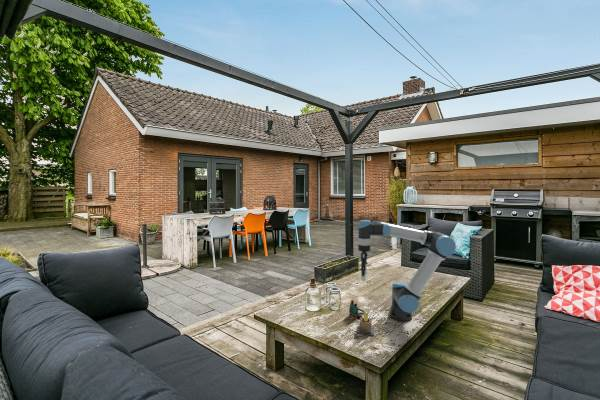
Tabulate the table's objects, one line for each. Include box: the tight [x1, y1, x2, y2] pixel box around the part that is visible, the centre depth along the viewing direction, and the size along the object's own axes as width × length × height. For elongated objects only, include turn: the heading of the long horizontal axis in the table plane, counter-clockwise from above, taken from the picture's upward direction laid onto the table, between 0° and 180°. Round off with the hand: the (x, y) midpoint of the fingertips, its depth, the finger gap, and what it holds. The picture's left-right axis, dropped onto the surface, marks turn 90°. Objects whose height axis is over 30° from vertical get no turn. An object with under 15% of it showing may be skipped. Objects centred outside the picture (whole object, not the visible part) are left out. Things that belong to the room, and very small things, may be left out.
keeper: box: [356, 311, 375, 337], centre depth 187 cm, size 10×9×12 cm
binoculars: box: [348, 299, 365, 320], centre depth 208 cm, size 9×11×10 cm
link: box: [358, 316, 373, 333], centre depth 188 cm, size 7×7×6 cm
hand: (363, 277), depth 195 cm, fingers open, 13 cm apart
